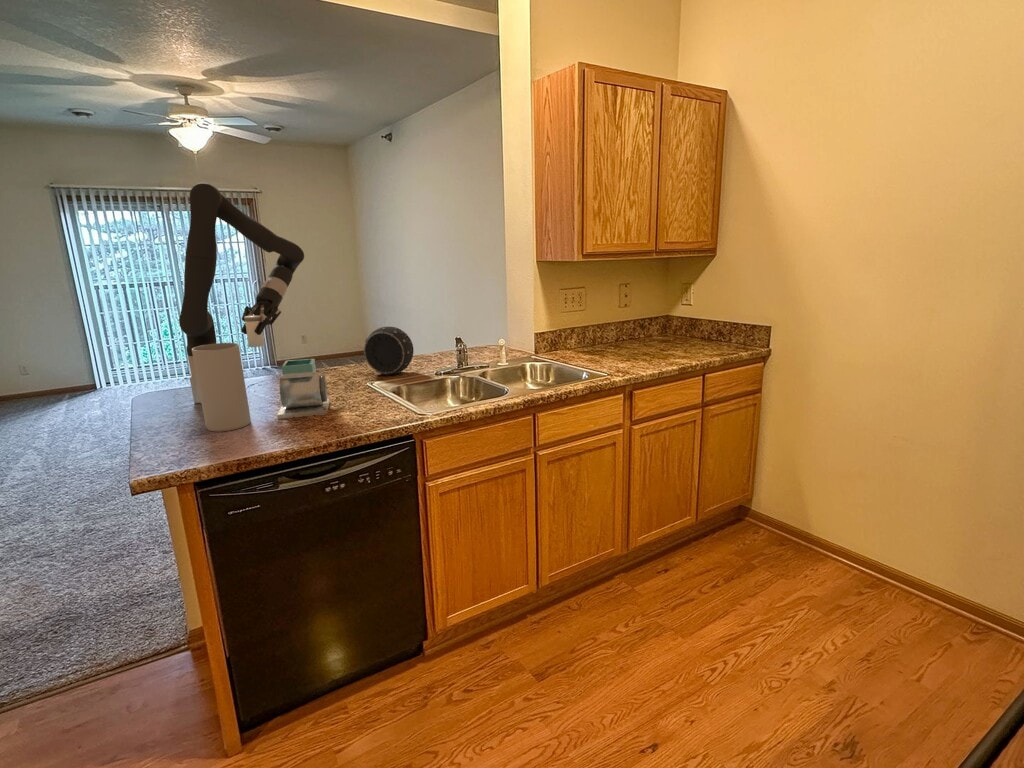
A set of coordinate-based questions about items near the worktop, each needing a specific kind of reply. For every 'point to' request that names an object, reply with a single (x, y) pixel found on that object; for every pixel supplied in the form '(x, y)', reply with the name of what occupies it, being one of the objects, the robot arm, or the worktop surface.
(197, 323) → the robot arm
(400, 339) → the black wheel
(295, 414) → the motor
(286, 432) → the worktop surface
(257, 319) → the jar with metallic lid
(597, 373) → the worktop surface
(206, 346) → the cylinder vase
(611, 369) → the worktop surface
